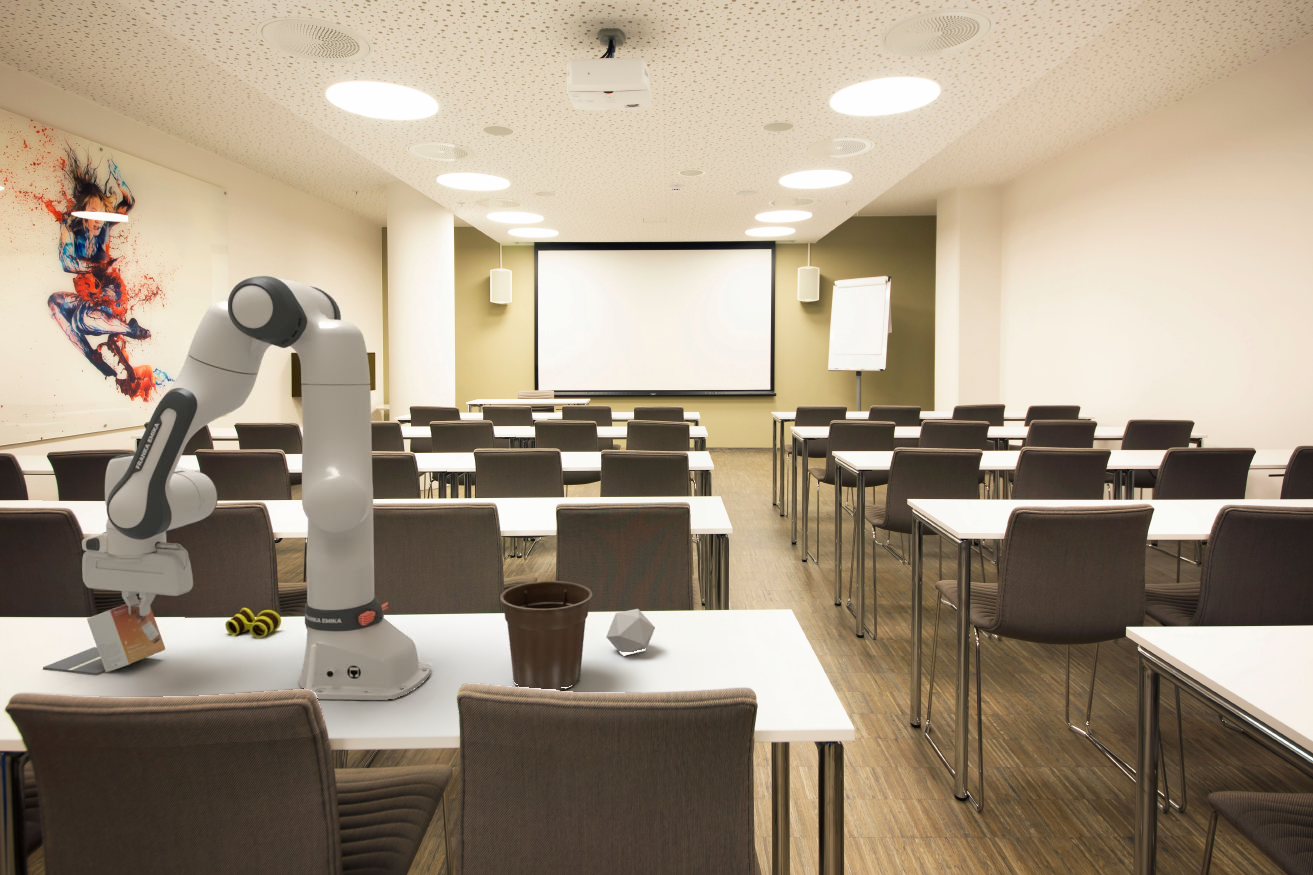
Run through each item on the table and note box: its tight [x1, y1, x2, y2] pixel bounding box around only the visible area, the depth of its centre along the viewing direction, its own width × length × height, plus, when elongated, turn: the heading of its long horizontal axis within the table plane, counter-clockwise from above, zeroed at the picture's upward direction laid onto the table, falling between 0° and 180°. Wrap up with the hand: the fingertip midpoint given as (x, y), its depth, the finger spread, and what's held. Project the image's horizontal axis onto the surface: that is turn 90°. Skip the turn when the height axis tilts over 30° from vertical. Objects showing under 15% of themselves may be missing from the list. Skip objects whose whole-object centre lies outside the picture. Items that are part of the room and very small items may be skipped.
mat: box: [42, 646, 106, 676], centre depth 137 cm, size 12×10×1 cm
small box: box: [86, 598, 166, 673], centre depth 135 cm, size 8×6×10 cm
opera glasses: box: [224, 607, 282, 639], centre depth 153 cm, size 10×5×5 cm, turn 78°
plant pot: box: [500, 580, 593, 691], centre depth 132 cm, size 16×16×16 cm
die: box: [606, 608, 656, 652], centre depth 147 cm, size 8×9×10 cm
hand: (139, 614), depth 134 cm, fingers closed
